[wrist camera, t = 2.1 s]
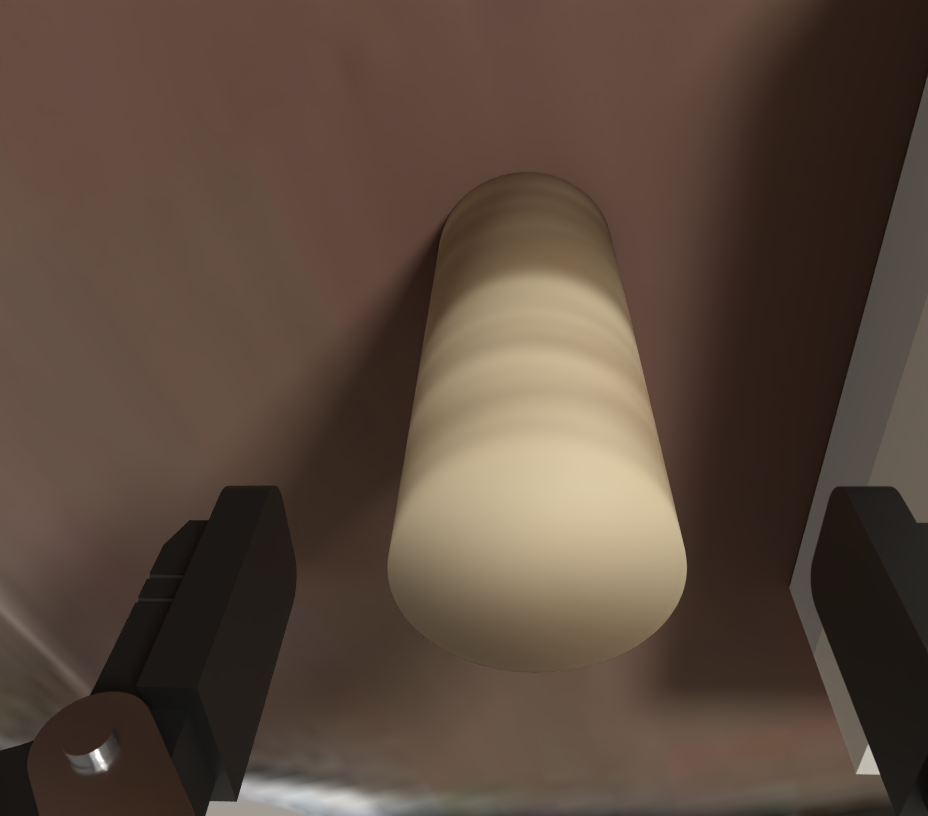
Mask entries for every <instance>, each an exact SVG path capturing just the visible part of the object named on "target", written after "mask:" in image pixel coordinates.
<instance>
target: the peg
mask: <svg viewBox="0 0 928 816" xmlns="http://www.w3.org/2000/svg"><path fill="white" fill-rule="evenodd" d="M387 569H388V581H389V585H390V590H391V593H392V595H393V598H394V600H395V602H396V604H397V606H398V608H399V609H400V611H401V612H402V614H403V616H404V617H405V618H406V619H407V620H408V622H409V623H410V624H411V625H412V626H413V627H414V628H415V629H416V630H417V631H418V632H419V633H420V634H421V635H422V636H424V637H425V638H426V639H428V640H429V641H431V642H432V643H433V644H435V645H436V646H438V647H440V648H441V649H443V650H445V651H447V652H449V653H450V654H453V655H455V656H457V657H460V658H462V659H464V660H467V661H470V662H473V663H476V664H479V665H482V666H487V667H491V668H496V669H501V670H508V671H515V672H532V673H538V672H557V671H566V670H573V669H578V668H583V667H587V666H591V665H594V664H598V663H601V662H604V661H607V660H609V659H612V658H614V657H617V656H619V655H621V654H623V653H625V652H627V651H629V650H631V649H633V648H634V647H636V646H637V645H639V644H640V643H642V642H643V641H645V640H646V639H648V638H649V637H650V636H651V635H652V634H653V633H655V632H656V631H657V630H658V629H659V628H660V627H661V626H662V625H663V624H664V623H665V622H666V620H667V619H668V618H669V617H670V615H671V614H672V612H673V611H674V609H675V608H676V606H677V604H678V602H679V600H680V598H681V596H682V593H683V590H684V586H685V582H686V574H687V561H686V553H685V548H684V544H683V540H682V536H681V531H680V527H679V523H678V519H677V514H676V510H675V506H674V502H673V497H672V493H671V489H670V485H669V481H668V476H667V472H666V468H665V464H664V459H663V455H662V451H661V447H660V442H659V438H658V434H657V430H656V426H655V421H654V417H653V413H652V409H651V404H650V400H649V396H648V392H647V387H646V383H645V379H644V375H643V371H642V366H641V362H640V358H639V354H638V349H637V345H636V341H635V337H634V332H633V328H632V324H631V320H630V315H629V311H628V307H627V303H626V299H625V294H624V290H623V286H622V282H621V277H620V273H619V269H618V265H617V260H616V256H615V252H614V248H613V244H612V239H611V235H610V232H609V228H608V225H607V223H606V220H605V218H604V216H603V214H602V213H601V211H600V210H599V208H598V207H597V205H596V204H595V203H594V202H593V201H592V199H591V198H590V197H589V196H588V195H586V194H585V193H584V192H583V191H582V190H581V189H579V188H577V187H576V186H574V185H573V184H571V183H569V182H567V181H565V180H563V179H561V178H557V177H554V176H551V175H547V174H541V173H529V172H523V173H513V174H508V175H503V176H500V177H497V178H494V179H491V180H489V181H487V182H485V183H483V184H481V185H479V186H478V187H476V188H475V189H473V190H472V191H470V192H469V193H468V194H467V195H466V196H465V197H464V198H462V199H461V200H460V202H459V203H458V204H457V205H456V206H455V207H454V209H453V210H452V212H451V214H450V215H449V217H448V219H447V221H446V223H445V225H444V227H443V231H442V234H441V237H440V243H439V249H438V256H437V262H436V268H435V274H434V280H433V286H432V292H431V298H430V305H429V311H428V317H427V323H426V329H425V335H424V341H423V347H422V354H421V360H420V366H419V372H418V378H417V384H416V390H415V396H414V403H413V409H412V415H411V421H410V427H409V433H408V439H407V446H406V452H405V458H404V464H403V470H402V476H401V482H400V488H399V495H398V501H397V507H396V513H395V519H394V525H393V531H392V537H391V544H390V550H389V556H388V563H387Z"/></svg>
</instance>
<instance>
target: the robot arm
mask: <svg viewBox="0 0 928 816" xmlns="http://www.w3.org/2000/svg"><path fill="white" fill-rule="evenodd" d="M295 590H296V561H295V555H294V551H293V546H292V542H291V537H290V532H289V528H288V523H287V518H286V514H285V509H284V505H283V500H282V496H281V493H280V490H279V488H278V487H277V486H226V487H225V488H224V489H223V490H222V492H221V493H220V496H219V498H218V500H217V502H216V505H215V507H214V509H213V511H212V514H211V516H210V518H209V520H189V521H188V522H187V523H186V524H185V525H184V526H183V527H182V528H181V529H180V530H179V531H178V532H177V533H176V534H175V535H174V536H173V537H172V538H171V539H169V540H168V541H167V542H166V543H165V544H164V545H163V547H162V549H161V551H160V553H159V556H158V558H157V560H156V562H155V564H154V566H153V568H152V570H151V572H150V579H147V580H146V582H145V584H144V586H143V588H142V590H141V592H140V594H139V596H138V597H139V601H138V603H135V605H134V607H133V609H132V611H131V613H130V615H129V617H128V619H127V621H126V623H125V625H124V627H123V629H122V631H121V633H120V635H119V637H118V640H117V642H116V644H115V646H114V648H113V650H112V652H111V654H110V656H109V658H108V660H107V662H106V664H105V666H104V668H103V670H102V672H101V674H100V676H99V678H98V681H97V683H96V685H95V687H94V689H93V690H92V692H91V694H90V695H89V696H87V697H84V698H82V699H80V700H77V701H75V702H74V703H72V704H70V705H68V706H66V707H65V708H64V709H62V710H61V711H59V712H58V713H57V714H56V715H55V716H53V717H52V718H51V719H50V720H49V721H48V722H47V723H46V724H45V725H44V727H43V728H42V729H41V730H40V732H39V733H38V735H37V736H36V738H35V739H34V740H33V741H31V742H28V743H25V744H22V745H19V746H16V747H12V748H8V749H5V750H1V751H0V816H205V814H206V811H207V808H208V805H209V801H234V802H237V799H238V795H239V792H240V788H241V785H242V781H243V778H244V774H245V771H246V767H247V764H248V760H249V756H250V753H251V749H252V746H253V742H254V739H255V735H256V732H257V728H258V725H259V721H260V718H261V714H262V711H263V707H264V704H265V700H266V697H267V693H268V690H269V686H270V683H271V679H272V675H273V672H274V668H275V665H276V661H277V658H278V654H279V651H280V647H281V644H282V640H283V637H284V633H285V630H286V626H287V623H288V619H289V616H290V612H291V609H292V605H293V601H294V597H295ZM811 591H812V597H813V601H814V605H815V608H816V611H817V613H818V616H819V618H820V621H821V624H822V626H823V629H824V631H825V634H826V636H827V639H828V642H829V644H830V647H831V649H832V652H833V654H834V657H835V660H836V662H837V665H838V667H839V670H840V672H841V675H842V677H843V680H844V683H845V685H846V688H847V690H848V693H849V695H850V698H851V701H852V703H853V706H854V708H855V711H856V713H857V716H858V719H859V721H860V724H861V726H862V729H863V731H864V734H865V737H866V739H867V742H868V744H869V747H870V749H871V752H872V755H873V757H874V760H875V762H876V765H877V767H878V770H879V773H880V775H881V778H882V780H883V783H884V785H885V788H886V791H887V793H888V796H889V798H890V801H891V803H892V806H893V809H894V811H895V814H896V816H928V523H917V522H916V520H915V518H914V517H913V515H912V513H911V511H910V510H909V508H908V506H907V505H906V503H905V501H904V499H903V498H902V496H901V494H900V493H899V491H898V490H897V489H896V488H894V487H891V486H838V487H835V488H834V489H833V490H832V492H831V494H830V497H829V500H828V504H827V508H826V511H825V515H824V519H823V523H822V526H821V530H820V534H819V538H818V541H817V545H816V549H815V553H814V556H813V560H812V565H811Z"/></svg>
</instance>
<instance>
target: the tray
mask: <svg viewBox="0 0 928 816" xmlns="http://www.w3.org/2000/svg"><path fill="white" fill-rule="evenodd" d="M838 486H891V487H894V488H896V489H897V490H898V491H899V493H900V494H901V496H902V498H903V499H904V501H905V503H906V505H907V506H908V508H909V510H910V511H911V513H912V515H913V517H914V518H915V520H916V522H917V523H928V76H927V80H926V83H925V87H924V91H923V94H922V98H921V102H920V105H919V109H918V113H917V117H916V120H915V124H914V128H913V131H912V135H911V139H910V142H909V146H908V150H907V154H906V157H905V161H904V165H903V168H902V172H901V176H900V180H899V183H898V187H897V191H896V194H895V198H894V202H893V205H892V209H891V213H890V217H889V220H888V224H887V228H886V231H885V235H884V239H883V243H882V246H881V250H880V254H879V257H878V261H877V265H876V268H875V272H874V276H873V280H872V283H871V287H870V291H869V294H868V298H867V302H866V305H865V309H864V313H863V317H862V320H861V324H860V328H859V331H858V335H857V339H856V343H855V346H854V350H853V354H852V357H851V361H850V365H849V368H848V372H847V376H846V380H845V383H844V387H843V391H842V394H841V398H840V402H839V405H838V409H837V413H836V417H835V420H834V424H833V428H832V431H831V435H830V439H829V443H828V446H827V450H826V454H825V457H824V461H823V465H822V468H821V472H820V476H819V480H818V483H817V487H816V491H815V494H814V498H813V502H812V505H811V509H810V513H809V517H808V520H807V524H806V528H805V531H804V535H803V539H802V543H801V546H800V550H799V554H798V557H797V561H796V565H795V568H794V572H793V576H792V580H791V583H790V587H789V589H790V592H791V594H792V597H793V600H794V603H795V606H796V608H797V611H798V614H799V617H800V619H801V622H802V625H803V628H804V631H805V633H806V636H807V639H808V642H809V645H810V647H811V650H812V653H813V656H814V658H815V661H816V664H817V667H818V670H819V672H820V675H821V678H822V681H823V684H824V686H825V689H826V692H827V695H828V698H829V700H830V703H831V706H832V709H833V711H834V714H835V717H836V720H837V723H838V725H839V728H840V731H841V734H842V737H843V739H844V742H845V745H846V748H847V750H848V753H849V756H850V759H851V762H852V764H853V767H854V770H855V773H856V774H880V773H879V770H878V767H877V765H876V762H875V760H874V757H873V755H872V752H871V749H870V747H869V744H868V742H867V739H866V737H865V734H864V731H863V729H862V726H861V724H860V721H859V719H858V716H857V713H856V711H855V708H854V706H853V703H852V701H851V698H850V695H849V693H848V690H847V688H846V685H845V683H844V680H843V677H842V675H841V672H840V670H839V667H838V665H837V662H836V660H835V657H834V654H833V652H832V649H831V647H830V644H829V642H828V639H827V636H826V634H825V631H824V629H823V626H822V624H821V621H820V618H819V616H818V613H817V611H816V608H815V605H814V601H813V597H812V591H811V565H812V560H813V556H814V553H815V549H816V545H817V541H818V538H819V534H820V530H821V526H822V523H823V519H824V515H825V511H826V508H827V504H828V500H829V497H830V494H831V492H832V490H833V489H834V488H835V487H838Z"/></svg>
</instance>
